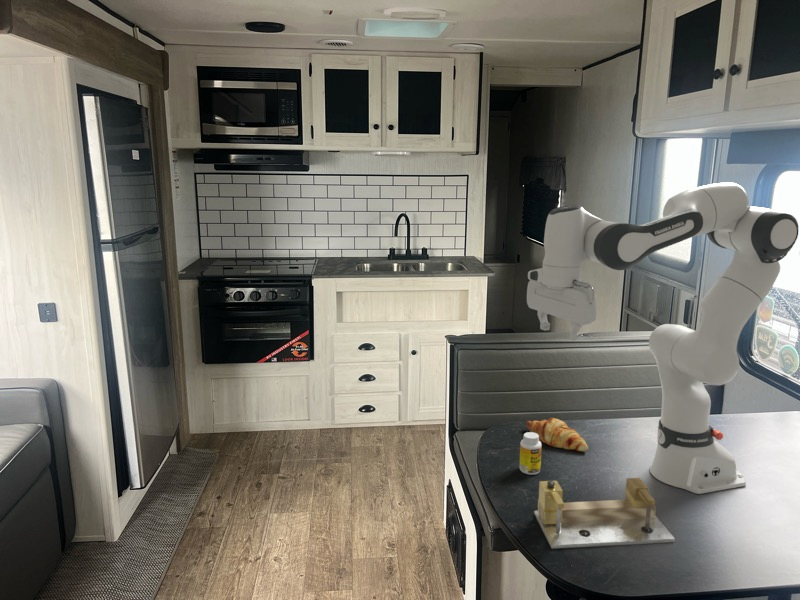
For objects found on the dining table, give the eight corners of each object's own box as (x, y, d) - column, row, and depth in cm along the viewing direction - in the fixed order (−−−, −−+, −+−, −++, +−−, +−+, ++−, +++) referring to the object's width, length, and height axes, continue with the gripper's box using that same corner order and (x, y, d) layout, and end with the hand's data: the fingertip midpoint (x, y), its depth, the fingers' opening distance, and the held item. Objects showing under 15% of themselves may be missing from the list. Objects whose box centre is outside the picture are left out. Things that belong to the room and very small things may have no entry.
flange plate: (646, 508, 139) (646, 504, 139) (674, 541, 127) (675, 538, 127) (534, 513, 138) (534, 510, 138) (551, 548, 125) (551, 544, 125)
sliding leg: (554, 510, 137) (556, 476, 135) (568, 535, 128) (570, 499, 126) (537, 511, 137) (539, 477, 135) (550, 536, 128) (552, 500, 126)
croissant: (591, 461, 169) (600, 435, 170) (575, 457, 162) (585, 429, 163) (531, 436, 184) (539, 412, 185) (514, 431, 178) (522, 406, 178)
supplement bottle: (530, 477, 154) (531, 441, 152) (515, 469, 159) (515, 434, 156) (545, 471, 157) (546, 436, 155) (529, 463, 162) (531, 428, 159)
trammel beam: (647, 508, 138) (649, 477, 136) (666, 531, 129) (669, 499, 127) (538, 513, 137) (539, 482, 135) (550, 538, 128) (551, 504, 126)
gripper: (605, 283, 128) (600, 344, 131) (544, 269, 146) (541, 323, 149) (583, 285, 125) (578, 348, 128) (523, 271, 143) (520, 326, 146)
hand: (557, 334), depth 139 cm, fingers open, 8 cm apart
